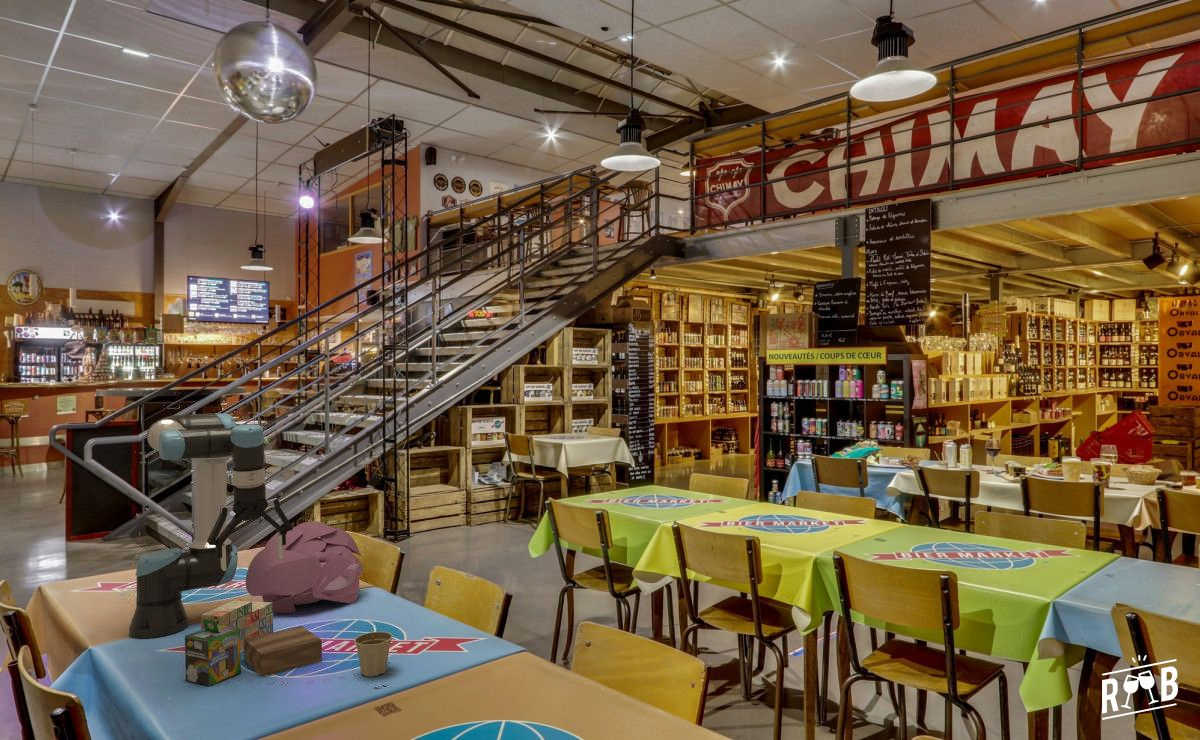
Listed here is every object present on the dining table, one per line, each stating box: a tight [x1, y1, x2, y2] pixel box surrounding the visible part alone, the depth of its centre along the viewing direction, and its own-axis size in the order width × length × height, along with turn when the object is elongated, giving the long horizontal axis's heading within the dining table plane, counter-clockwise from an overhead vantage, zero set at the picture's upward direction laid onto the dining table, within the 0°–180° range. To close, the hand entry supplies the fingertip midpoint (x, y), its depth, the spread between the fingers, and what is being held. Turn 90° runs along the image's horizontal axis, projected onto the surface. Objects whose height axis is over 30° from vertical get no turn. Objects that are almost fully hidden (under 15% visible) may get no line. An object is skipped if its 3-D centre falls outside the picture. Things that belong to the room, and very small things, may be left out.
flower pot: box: [353, 631, 394, 677], centre depth 181 cm, size 9×9×9 cm
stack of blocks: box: [200, 600, 274, 652], centre depth 200 cm, size 21×6×12 cm, turn 168°
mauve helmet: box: [245, 520, 364, 614], centre depth 239 cm, size 36×24×29 cm
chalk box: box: [184, 618, 242, 687], centre depth 179 cm, size 9×9×15 cm
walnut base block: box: [243, 625, 323, 678], centre depth 189 cm, size 15×15×6 cm
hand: (252, 563), depth 187 cm, fingers open, 13 cm apart
